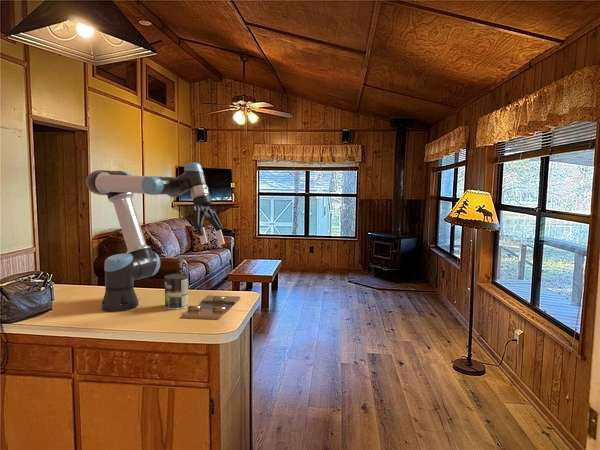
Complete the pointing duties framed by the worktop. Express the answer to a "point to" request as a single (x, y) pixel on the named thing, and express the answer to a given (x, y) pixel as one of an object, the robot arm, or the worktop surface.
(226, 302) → the hinge leaves
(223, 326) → the worktop surface
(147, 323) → the worktop surface
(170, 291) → the coffee can
